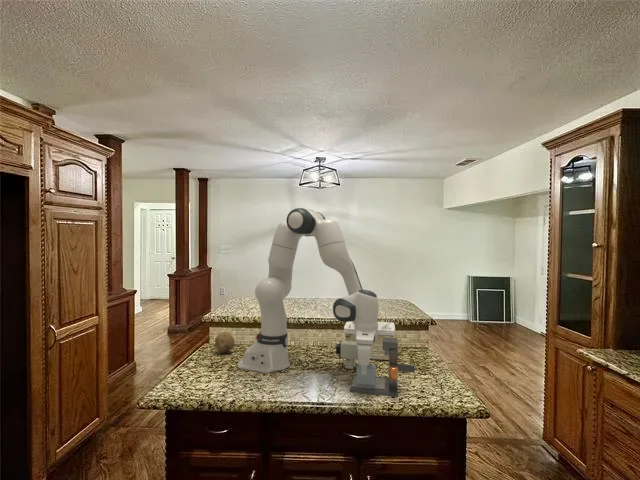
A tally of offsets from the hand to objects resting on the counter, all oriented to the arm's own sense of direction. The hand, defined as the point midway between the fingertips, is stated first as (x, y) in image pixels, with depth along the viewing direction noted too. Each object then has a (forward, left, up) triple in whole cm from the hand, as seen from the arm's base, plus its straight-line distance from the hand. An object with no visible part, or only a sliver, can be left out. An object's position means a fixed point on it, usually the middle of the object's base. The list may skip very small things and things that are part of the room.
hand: (365, 369), depth 136 cm
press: (+7, 0, -6) cm, 9 cm away
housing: (+1, 0, -5) cm, 5 cm away
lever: (+11, -7, +1) cm, 13 cm away
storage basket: (0, +37, -7) cm, 38 cm away
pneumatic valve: (-7, +18, -6) cm, 21 cm away
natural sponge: (-68, +24, -6) cm, 73 cm away
